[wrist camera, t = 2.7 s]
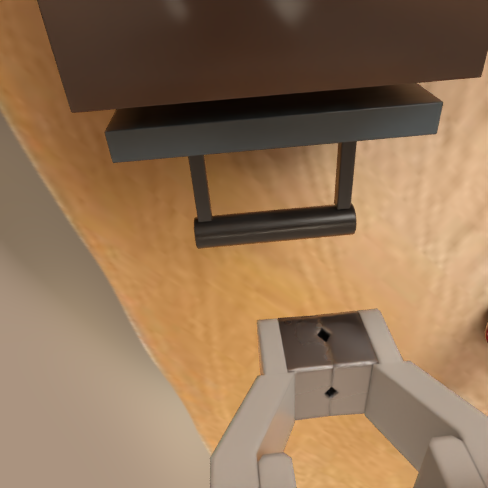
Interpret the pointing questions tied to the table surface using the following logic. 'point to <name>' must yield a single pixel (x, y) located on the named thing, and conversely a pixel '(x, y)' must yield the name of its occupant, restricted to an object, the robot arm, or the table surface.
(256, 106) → the drawer
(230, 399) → the table surface
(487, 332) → the soda can
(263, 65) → the cabinet
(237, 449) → the robot arm
